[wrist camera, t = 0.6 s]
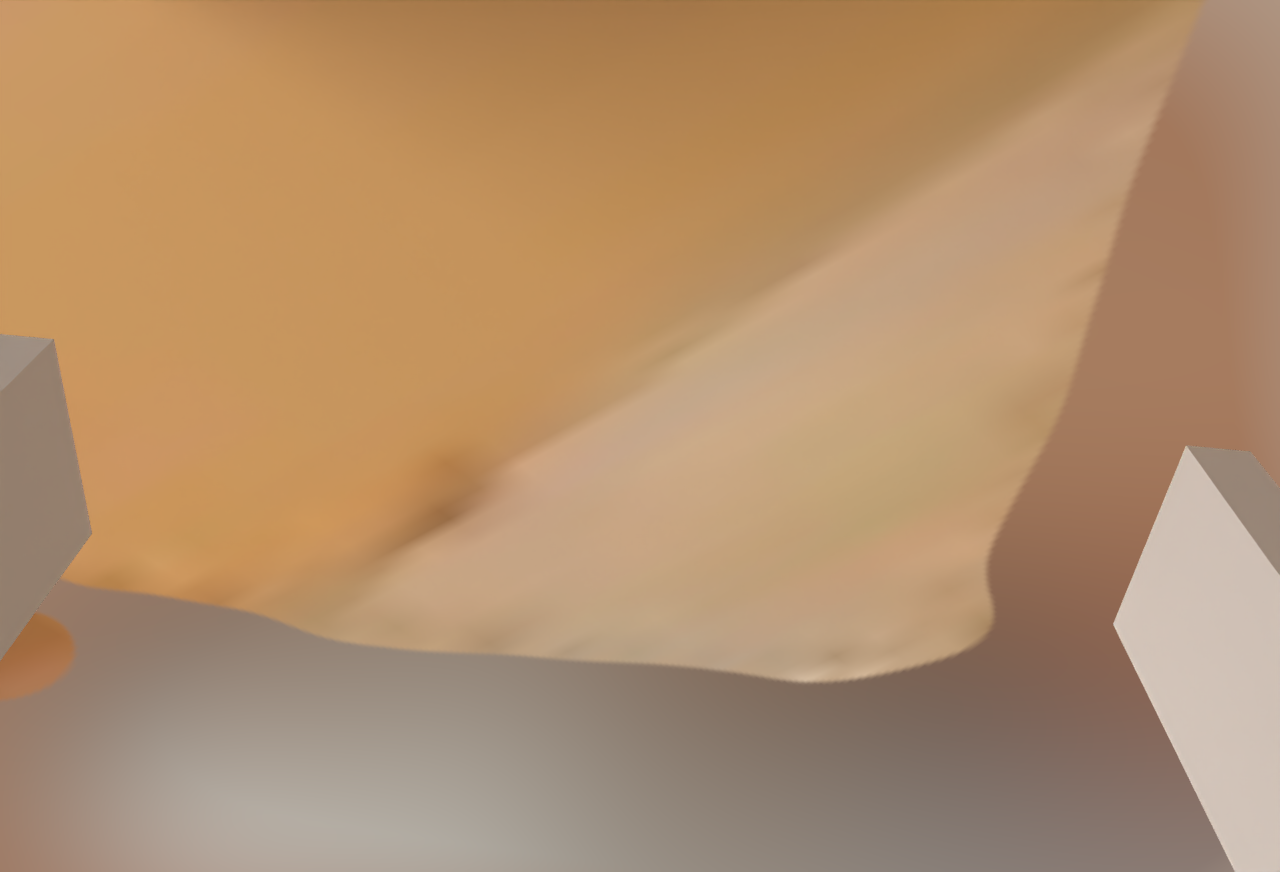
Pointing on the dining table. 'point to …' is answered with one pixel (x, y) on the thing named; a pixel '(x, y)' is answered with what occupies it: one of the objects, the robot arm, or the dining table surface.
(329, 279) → the dining table surface
